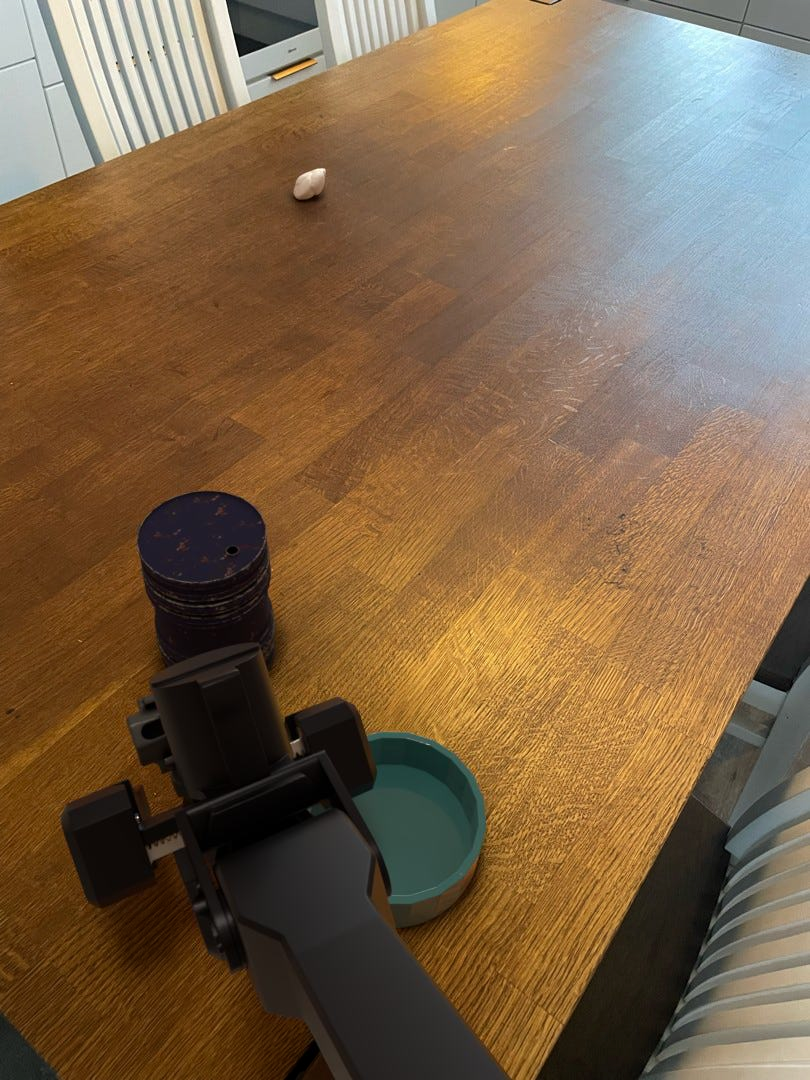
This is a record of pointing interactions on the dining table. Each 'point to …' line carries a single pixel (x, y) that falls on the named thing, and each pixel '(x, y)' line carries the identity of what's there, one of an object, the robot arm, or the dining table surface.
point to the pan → (422, 823)
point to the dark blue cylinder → (207, 575)
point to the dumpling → (310, 184)
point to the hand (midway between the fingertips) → (205, 765)
